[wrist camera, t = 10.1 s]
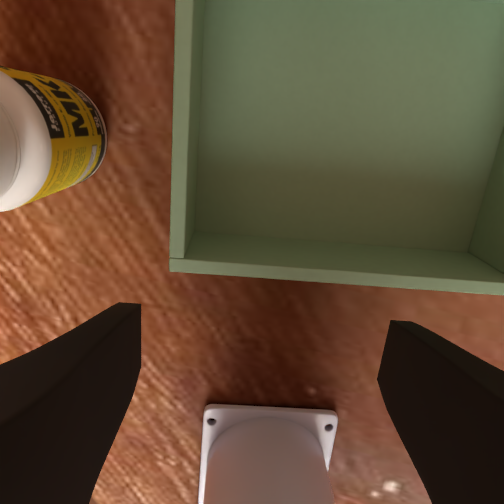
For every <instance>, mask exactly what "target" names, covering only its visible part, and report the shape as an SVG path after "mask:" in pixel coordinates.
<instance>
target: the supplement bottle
mask: <svg viewBox="0 0 504 504" xmlns="http://www.w3.org/2000/svg"><path fill="white" fill-rule="evenodd" d="M106 148H107V132H106V127H105V123H104V120H103V118H102V115H101V113H100V111H99V110H98V108H97V107H96V105H95V104H94V103H93V101H92V100H91V99H90V98H89V97H88V96H87V95H86V94H85V93H84V92H82V91H81V90H80V89H78V88H77V87H75V86H73V85H72V84H70V83H68V82H65V81H63V80H60V79H56V78H52V77H47V76H43V75H38V74H34V73H29V72H25V71H20V70H16V69H11V68H6V67H3V66H0V212H3V211H8V210H12V209H15V208H18V207H20V206H23V205H25V204H27V203H30V202H33V201H35V200H38V199H40V198H43V197H45V196H48V195H50V194H53V193H55V192H58V191H60V190H63V189H65V188H68V187H71V186H73V185H75V184H78V183H80V182H82V181H84V180H86V179H87V178H89V177H90V176H91V175H92V174H93V173H94V172H95V171H96V170H97V169H98V168H99V166H100V165H101V163H102V161H103V159H104V156H105V153H106Z"/></svg>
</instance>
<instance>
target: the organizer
mask: <svg viewBox="0 0 504 504" xmlns="http://www.w3.org/2000/svg"><path fill="white" fill-rule="evenodd" d="M169 256H170V258H169V271H171V272H185V273H199V274H213V275H227V276H241V277H255V278H269V279H283V280H297V281H311V282H325V283H338V284H352V285H366V286H380V287H394V288H408V289H422V290H436V291H450V292H464V293H478V294H492V295H504V0H175V39H174V81H173V123H172V165H171V206H170V248H169Z"/></svg>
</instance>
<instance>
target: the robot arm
mask: <svg viewBox="0 0 504 504" xmlns="http://www.w3.org/2000/svg"><path fill="white" fill-rule="evenodd" d="M140 368H141V304H135V303H120V302H119V303H117V304H115V305H113V306H111V307H109V308H108V309H106V310H104V311H103V312H101V313H99V314H98V315H96V316H94V317H93V318H91V319H89V320H88V321H86V322H84V323H83V324H81V325H79V326H78V327H76V328H74V329H72V330H71V331H69V332H67V333H65V334H63V335H61V336H60V337H58V338H56V339H54V340H52V341H50V342H48V343H46V344H44V345H43V346H41V347H39V348H37V349H35V350H33V351H31V352H28V353H26V354H24V355H22V356H20V357H17V358H15V359H13V360H10V361H8V362H5V363H3V364H1V365H0V504H89V502H90V498H91V496H92V493H93V490H94V487H95V484H96V482H97V479H98V476H99V474H100V471H101V469H102V466H103V464H104V462H105V460H106V457H107V455H108V453H109V450H110V448H111V446H112V443H113V441H114V439H115V437H116V434H117V432H118V430H119V427H120V425H121V423H122V420H123V418H124V416H125V413H126V411H127V409H128V406H129V404H130V402H131V399H132V397H133V393H134V390H135V387H136V383H137V380H138V376H139V372H140ZM377 381H378V384H379V387H380V390H381V394H382V397H383V400H384V403H385V405H386V408H387V411H388V413H389V415H390V417H391V419H392V421H393V423H394V426H395V428H396V430H397V432H398V434H399V436H400V438H401V440H402V442H403V444H404V446H405V448H406V450H407V452H408V454H409V456H410V458H411V460H412V462H413V464H414V466H415V468H416V470H417V472H418V474H419V476H420V478H421V480H422V482H423V484H424V486H425V488H426V491H427V493H428V495H429V497H430V500H431V502H432V504H504V371H502V370H500V369H498V368H496V367H494V366H492V365H491V364H489V363H487V362H485V361H483V360H481V359H480V358H478V357H476V356H474V355H472V354H471V353H469V352H467V351H465V350H464V349H462V348H460V347H458V346H457V345H455V344H453V343H451V342H450V341H448V340H446V339H444V338H443V337H441V336H439V335H437V334H436V333H434V332H432V331H430V330H428V329H426V328H424V327H422V326H420V325H418V324H416V323H413V322H411V321H395V320H391V321H390V325H389V329H388V334H387V338H386V342H385V347H384V351H383V356H382V360H381V364H380V369H379V373H378V377H377ZM210 418H213V419H215V420H209V419H210ZM327 424H331V425H330V426H326V425H327ZM337 424H338V416H337V414H336V412H334V411H333V410H322V409H302V408H283V407H264V406H245V405H226V404H209V405H207V406H206V407H205V408H204V414H203V430H202V446H201V462H200V478H199V493H198V504H336V503H335V499H334V495H333V491H332V487H331V483H330V479H329V475H328V469H329V464H330V459H331V454H332V449H333V444H334V439H335V434H336V429H337Z"/></svg>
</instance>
